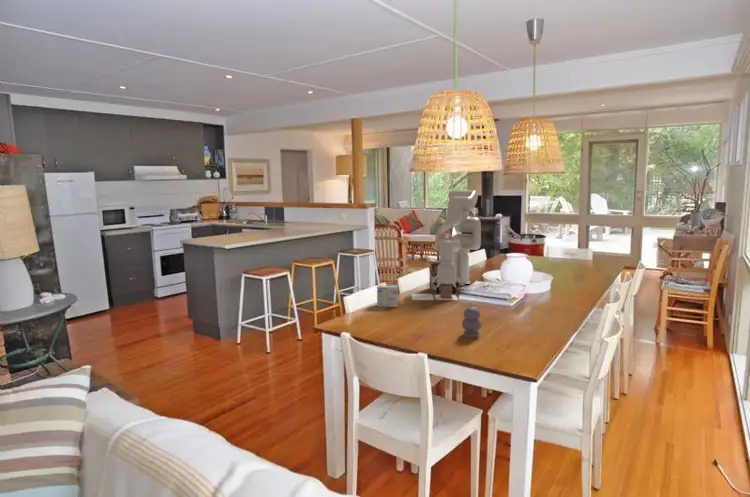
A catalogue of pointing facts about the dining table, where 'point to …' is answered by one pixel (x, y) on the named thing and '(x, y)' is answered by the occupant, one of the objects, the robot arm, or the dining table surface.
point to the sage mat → (422, 297)
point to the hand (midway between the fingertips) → (446, 293)
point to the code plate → (438, 297)
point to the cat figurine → (471, 322)
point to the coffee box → (434, 273)
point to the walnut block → (446, 291)
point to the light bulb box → (387, 295)
